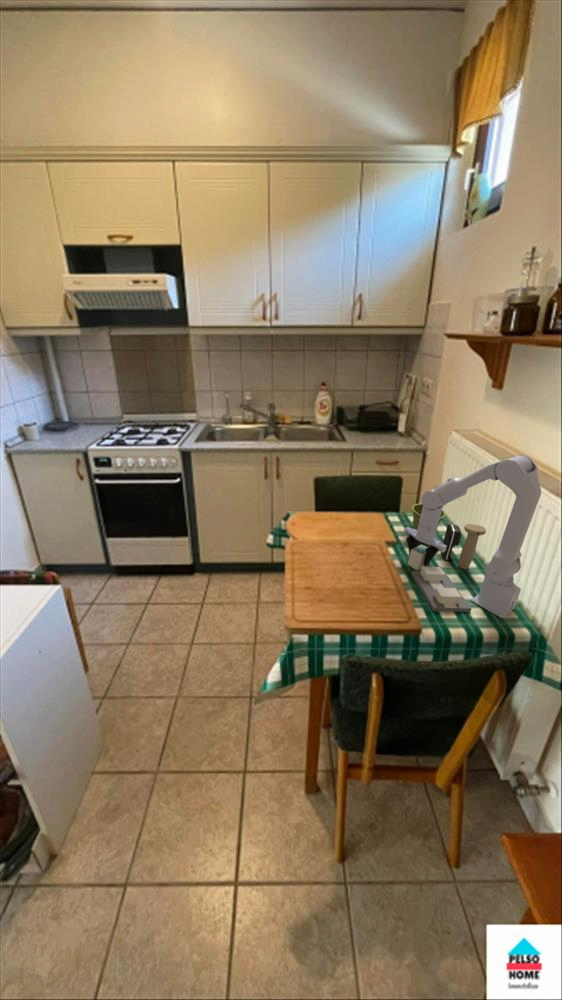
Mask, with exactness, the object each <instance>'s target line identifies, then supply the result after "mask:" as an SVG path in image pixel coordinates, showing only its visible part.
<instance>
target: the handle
mask: <svg viewBox="0 0 562 1000" xmlns="http://www.w3.org/2000/svg"><path fill="white" fill-rule="evenodd" d="M464 531H465V532H466V533H467V534H466V538H465V540H464V541H465V542H464V544H463V546H462V548H461V551H460V555H459V559H458V560H459V561H458V567H459V568H460V569H463V570H468V569H469V568H470V566H471V563H472V561H473V559H474V557H475V554H476V553H475V552H476V549H477V545H478V540H479V538H480V536H483V535H486V532H487V529H486V527H484V526H482V525H479V524H478V525H477V524H473V523H472V524H471V523H470V524H468V523H467V524H465V525H464Z"/></svg>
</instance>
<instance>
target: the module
mask: <svg viewBox="0 0 562 1000" xmlns="http://www.w3.org/2000/svg"><path fill="white" fill-rule="evenodd" d="M426 548H428V546H425V545H424V544H420V545H418V546H417V547H416V548H413V549H411V553H410V557H409V556H408V557H409V558H408V561H407V566H408V565H409V566H408V567H410V566H411V568H412V569H414V570H415V571H417V570H418V571H421V567H422V566H424V561H425V557H426ZM424 567H429V565H427V566H424Z"/></svg>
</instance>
